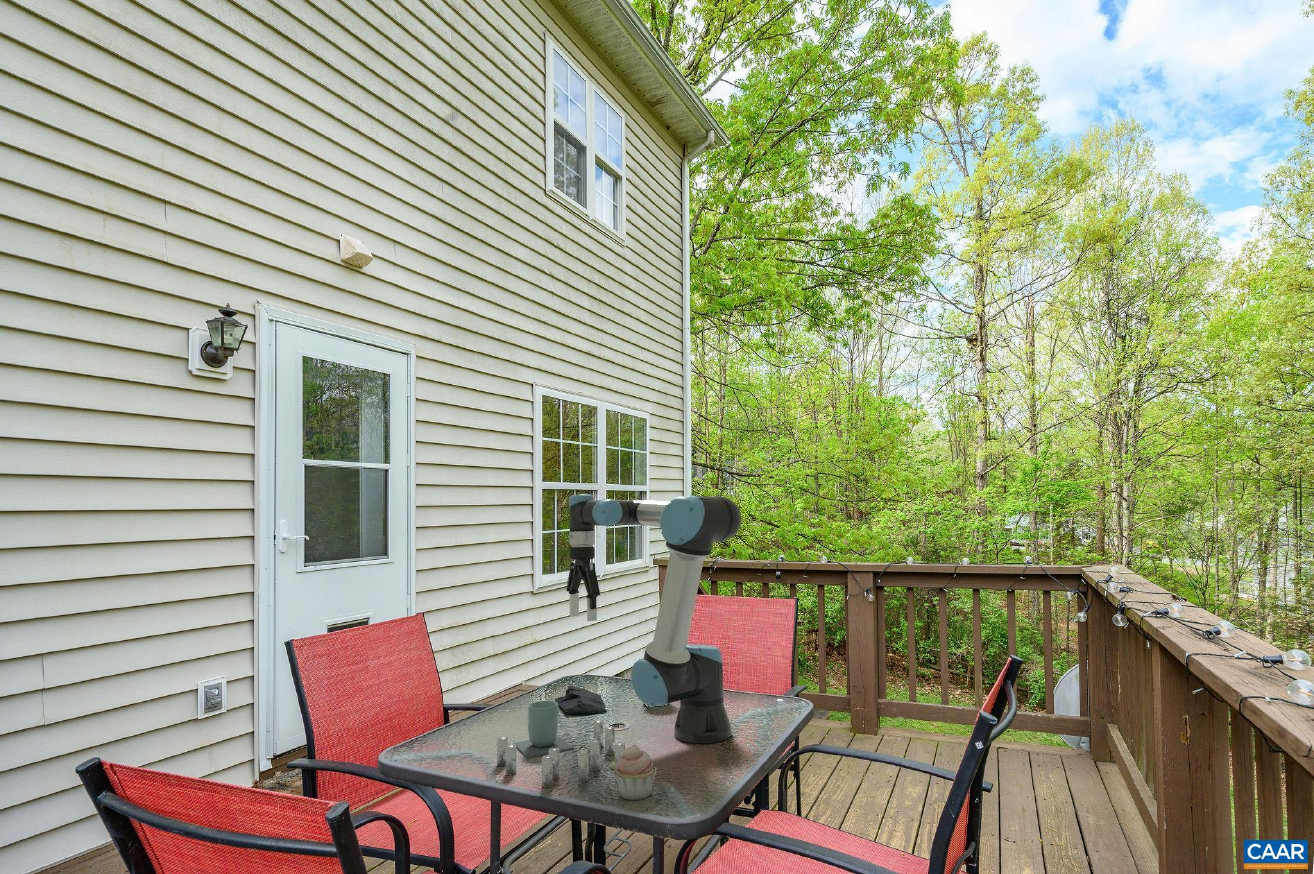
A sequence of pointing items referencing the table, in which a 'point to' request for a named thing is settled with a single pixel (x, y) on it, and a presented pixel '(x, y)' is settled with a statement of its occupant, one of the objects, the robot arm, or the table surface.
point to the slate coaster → (534, 751)
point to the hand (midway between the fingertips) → (582, 618)
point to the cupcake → (635, 774)
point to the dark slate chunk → (581, 701)
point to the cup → (543, 723)
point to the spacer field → (552, 761)
